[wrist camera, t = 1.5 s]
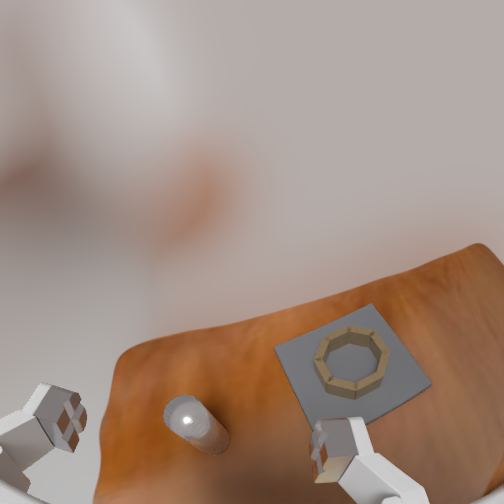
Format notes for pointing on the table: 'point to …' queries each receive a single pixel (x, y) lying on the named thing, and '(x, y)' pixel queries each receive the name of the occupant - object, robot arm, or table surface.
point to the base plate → (351, 371)
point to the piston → (196, 425)
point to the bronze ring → (354, 337)
